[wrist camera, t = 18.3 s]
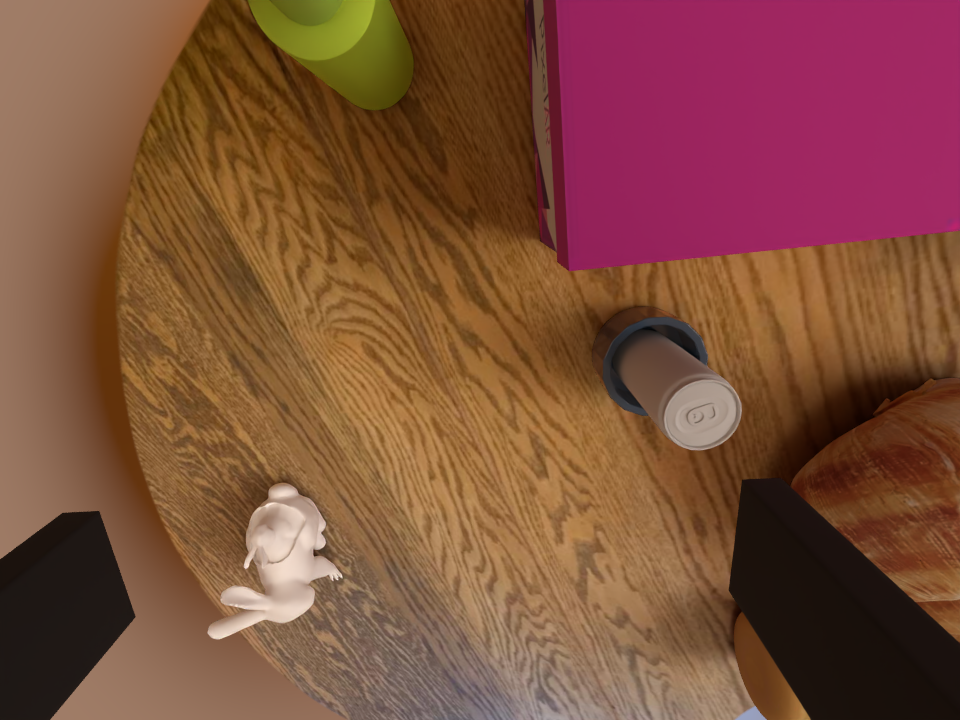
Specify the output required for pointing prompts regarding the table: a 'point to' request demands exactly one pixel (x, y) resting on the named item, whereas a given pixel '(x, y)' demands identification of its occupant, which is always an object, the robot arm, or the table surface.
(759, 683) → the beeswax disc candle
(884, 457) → the seashell
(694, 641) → the table surface
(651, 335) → the beverage can
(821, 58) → the decorative box
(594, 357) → the holder
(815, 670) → the robot arm
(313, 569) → the rabbit figurine
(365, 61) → the soap dispenser
